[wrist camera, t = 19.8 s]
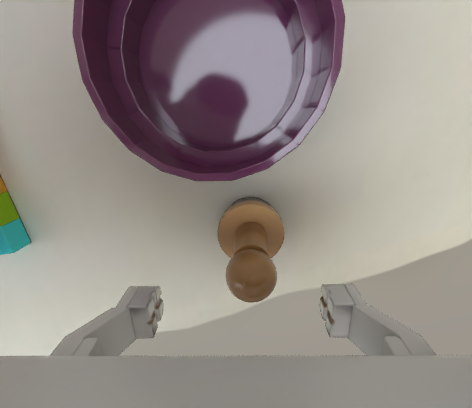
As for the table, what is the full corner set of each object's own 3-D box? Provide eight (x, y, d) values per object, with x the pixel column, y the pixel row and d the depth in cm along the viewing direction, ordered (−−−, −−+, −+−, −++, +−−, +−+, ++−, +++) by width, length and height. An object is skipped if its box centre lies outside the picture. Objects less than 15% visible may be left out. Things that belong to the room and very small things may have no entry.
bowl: (139, 166, 21) (103, 183, 16) (104, -48, 17) (39, -119, 12) (310, 161, 21) (331, 178, 15) (324, -65, 16) (360, -150, 11)
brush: (219, 194, 22) (199, 248, 13) (281, 193, 22) (302, 248, 13) (222, 248, 24) (206, 329, 15) (280, 248, 23) (298, 330, 15)
